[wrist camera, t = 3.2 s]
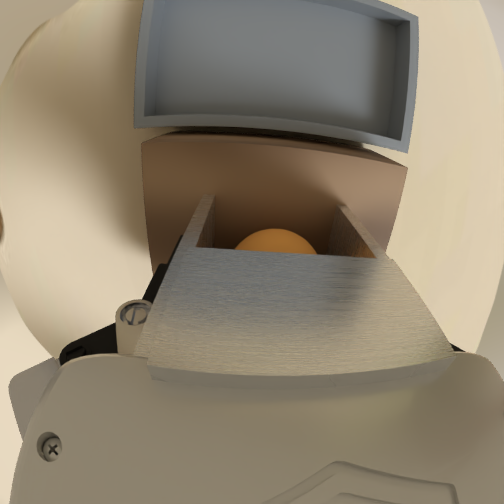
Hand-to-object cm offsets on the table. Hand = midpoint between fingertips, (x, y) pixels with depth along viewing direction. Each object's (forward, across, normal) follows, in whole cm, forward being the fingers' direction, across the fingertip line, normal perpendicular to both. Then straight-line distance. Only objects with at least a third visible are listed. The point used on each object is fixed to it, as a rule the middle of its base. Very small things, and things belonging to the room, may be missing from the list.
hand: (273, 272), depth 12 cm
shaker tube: (+2, 0, 0) cm, 2 cm away
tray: (+7, 0, -10) cm, 12 cm away
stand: (+7, 0, 0) cm, 7 cm away
